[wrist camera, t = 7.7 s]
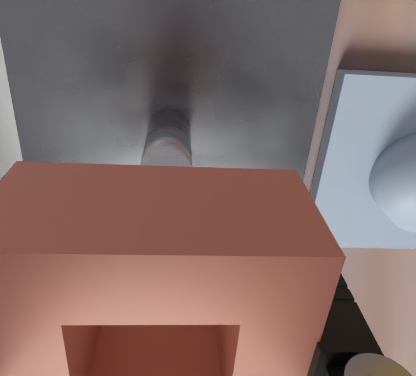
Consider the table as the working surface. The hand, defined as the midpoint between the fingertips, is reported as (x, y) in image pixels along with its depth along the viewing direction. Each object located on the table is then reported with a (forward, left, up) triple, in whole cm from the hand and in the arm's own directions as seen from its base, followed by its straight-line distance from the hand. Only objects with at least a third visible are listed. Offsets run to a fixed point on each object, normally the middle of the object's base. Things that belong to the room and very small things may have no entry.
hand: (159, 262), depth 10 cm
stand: (-13, +2, -11) cm, 17 cm away
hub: (0, 0, -11) cm, 11 cm away
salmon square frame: (0, 0, 0) cm, 0 cm away
